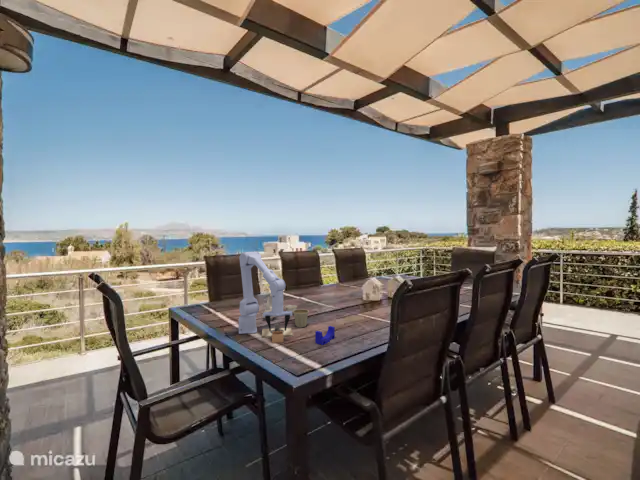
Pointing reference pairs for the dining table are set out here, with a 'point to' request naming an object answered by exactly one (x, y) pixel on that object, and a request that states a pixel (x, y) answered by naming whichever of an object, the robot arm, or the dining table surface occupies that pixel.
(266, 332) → the post plate
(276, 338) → the collar
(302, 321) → the flower pot
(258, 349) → the dining table surface
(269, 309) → the chinaware
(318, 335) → the cable clip
